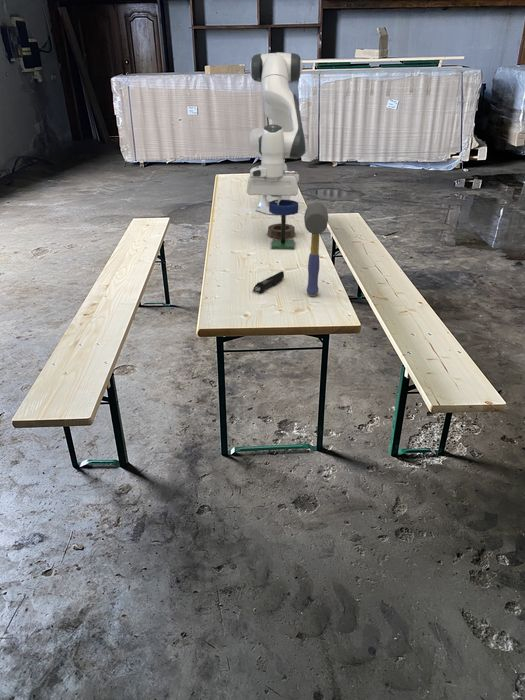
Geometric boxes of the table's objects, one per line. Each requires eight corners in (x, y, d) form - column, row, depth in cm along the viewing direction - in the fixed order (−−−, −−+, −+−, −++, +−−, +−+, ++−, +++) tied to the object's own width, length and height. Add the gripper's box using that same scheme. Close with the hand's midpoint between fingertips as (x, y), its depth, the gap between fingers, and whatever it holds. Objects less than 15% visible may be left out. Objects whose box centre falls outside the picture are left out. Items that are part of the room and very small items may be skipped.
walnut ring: (268, 230, 237) (269, 223, 236) (294, 230, 237) (294, 223, 235) (267, 238, 227) (267, 231, 226) (294, 239, 227) (294, 232, 225)
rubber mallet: (323, 303, 172) (329, 211, 156) (300, 302, 172) (304, 211, 157) (323, 288, 182) (328, 200, 167) (301, 287, 183) (304, 200, 168)
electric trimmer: (286, 280, 189) (287, 271, 187) (261, 294, 178) (261, 285, 176) (278, 277, 191) (278, 269, 189) (252, 291, 180) (252, 283, 178)
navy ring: (269, 207, 218) (270, 199, 216) (298, 207, 217) (298, 199, 216) (268, 215, 208) (268, 206, 206) (298, 215, 207) (298, 207, 206)
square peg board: (272, 241, 224) (273, 210, 217) (294, 242, 224) (294, 211, 217) (271, 248, 216) (271, 217, 210) (293, 249, 216) (294, 217, 209)
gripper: (299, 169, 207) (298, 204, 214) (247, 168, 208) (248, 203, 215) (299, 172, 202) (298, 208, 209) (246, 172, 203) (246, 208, 210)
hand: (272, 206), depth 212 cm, fingers closed on navy ring, 2 cm apart
